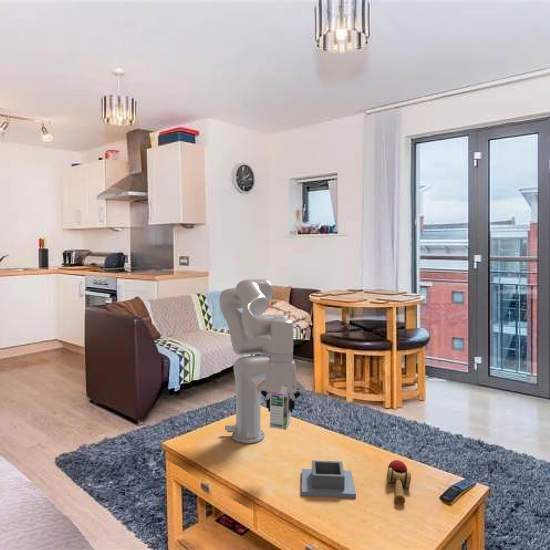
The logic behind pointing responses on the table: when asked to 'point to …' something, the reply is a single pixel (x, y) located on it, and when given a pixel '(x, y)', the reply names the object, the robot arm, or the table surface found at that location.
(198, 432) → the table surface
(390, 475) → the kendama
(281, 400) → the syrup box
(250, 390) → the robot arm
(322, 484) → the socket board
